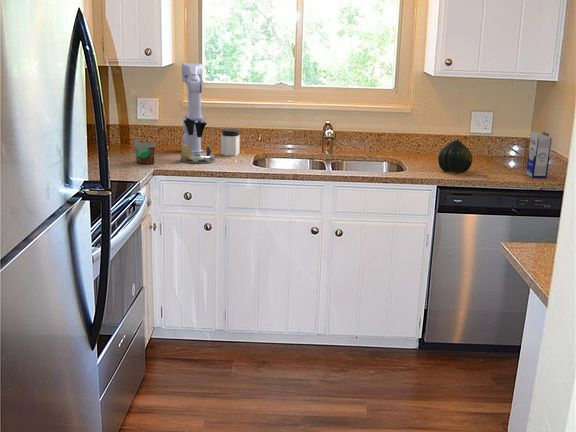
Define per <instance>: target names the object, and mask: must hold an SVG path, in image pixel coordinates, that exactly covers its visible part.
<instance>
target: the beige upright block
mask: <svg viewBox="0 0 576 432" xmlns="http://www.w3.org/2000/svg"><path fill="white" fill-rule="evenodd" d="M180 148H181V150H180V151H181V155H182V156H183V157H191V145H189V144H185V145H183V144H181V147H180Z"/></svg>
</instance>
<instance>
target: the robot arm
mask: <svg viewBox="0 0 576 432" xmlns="http://www.w3.org/2000/svg"><path fill="white" fill-rule="evenodd" d="M202 74H203V67H202V63H194V62H193V63H184V62H182V63H181V79H182V82H183V83H185V84H186V87H187V107H188V108H187V109H188V113H187V114H184V116H183V118H182V130H183V132H184V133H183V135H182V139H181V140H182V145H185V144H189V145H191V153H198V152H201V153H205V150H203V149H202V148H201V147H202V140H201V139H202V137H203V133H204V130H205V128H206V126H207V122H206V118H205V117H204V115H202V93H203V82H202V76H203V75H202Z"/></svg>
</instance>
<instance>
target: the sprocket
mask: <svg viewBox="0 0 576 432" xmlns="http://www.w3.org/2000/svg"><path fill="white" fill-rule="evenodd" d="M181 159H183V160H184V161H193V162H198V161H206V162H207V161H210V160H214V159H215V160H216V158H215V155H213V153H212V147H211V146H206V153H205V152H195V153H191V157H183V156H182V154H180V160H181Z"/></svg>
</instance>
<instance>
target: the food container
mask: <svg viewBox="0 0 576 432" xmlns="http://www.w3.org/2000/svg"><path fill="white" fill-rule="evenodd" d="M133 146H134V150H135V157H136V159H135V160H136V164H137V165H143V166H144V165H145V166H147V165H148V166H151V165H152V166H153V165H155V154H156V153H155V151H156V150H155V149H156V146H157V145H156V142H148V141H141V139H140V138H139V139H135V140H134V141H133Z"/></svg>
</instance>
